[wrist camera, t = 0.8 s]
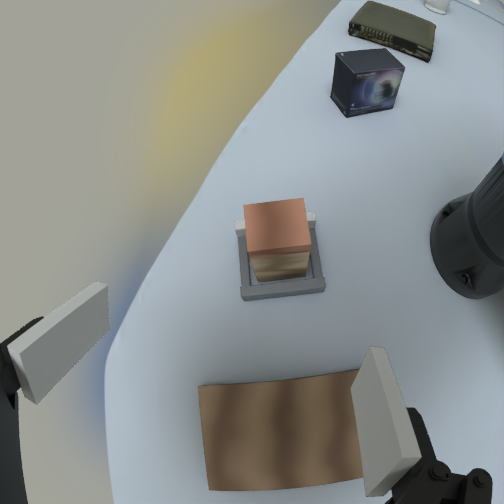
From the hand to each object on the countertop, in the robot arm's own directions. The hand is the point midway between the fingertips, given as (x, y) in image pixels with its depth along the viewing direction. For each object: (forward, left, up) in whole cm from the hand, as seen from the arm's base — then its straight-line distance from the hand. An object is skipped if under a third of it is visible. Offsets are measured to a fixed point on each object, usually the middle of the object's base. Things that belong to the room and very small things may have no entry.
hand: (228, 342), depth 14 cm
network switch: (-42, -70, -24) cm, 85 cm away
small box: (-22, -40, -24) cm, 51 cm away
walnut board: (-2, +10, -23) cm, 26 cm away
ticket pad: (-3, -12, -23) cm, 26 cm away
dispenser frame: (-3, -12, -23) cm, 26 cm away
